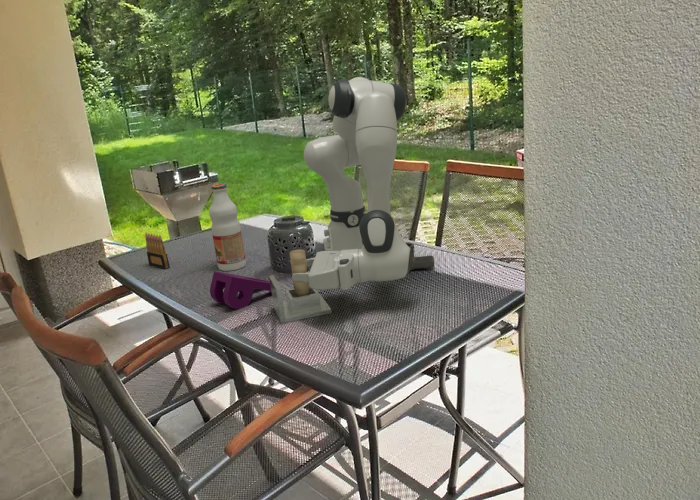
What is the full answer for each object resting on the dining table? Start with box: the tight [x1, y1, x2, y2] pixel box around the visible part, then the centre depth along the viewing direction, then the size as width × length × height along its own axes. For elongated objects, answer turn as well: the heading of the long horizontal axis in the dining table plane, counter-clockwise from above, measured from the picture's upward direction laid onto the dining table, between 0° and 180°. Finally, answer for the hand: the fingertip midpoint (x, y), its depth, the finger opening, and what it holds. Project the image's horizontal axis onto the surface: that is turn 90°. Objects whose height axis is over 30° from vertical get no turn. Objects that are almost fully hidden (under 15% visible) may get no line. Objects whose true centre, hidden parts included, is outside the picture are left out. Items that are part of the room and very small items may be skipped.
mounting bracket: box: [209, 270, 271, 310], centre depth 170 cm, size 9×8×18 cm
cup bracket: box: [268, 274, 333, 324], centre depth 157 cm, size 12×13×9 cm
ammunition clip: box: [144, 232, 171, 270], centre depth 208 cm, size 11×2×12 cm, turn 49°
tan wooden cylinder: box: [289, 249, 310, 297], centre depth 155 cm, size 4×4×15 cm
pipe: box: [405, 242, 435, 271], centre depth 179 cm, size 6×13×8 cm, turn 78°
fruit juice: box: [208, 182, 247, 272], centre depth 197 cm, size 9×9×28 cm
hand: (295, 270), depth 155 cm, fingers open, 8 cm apart
